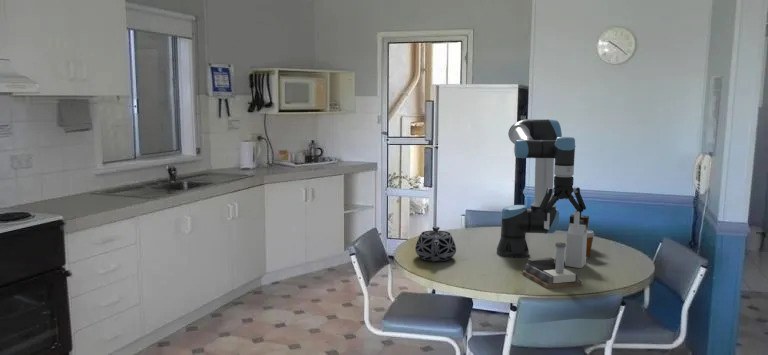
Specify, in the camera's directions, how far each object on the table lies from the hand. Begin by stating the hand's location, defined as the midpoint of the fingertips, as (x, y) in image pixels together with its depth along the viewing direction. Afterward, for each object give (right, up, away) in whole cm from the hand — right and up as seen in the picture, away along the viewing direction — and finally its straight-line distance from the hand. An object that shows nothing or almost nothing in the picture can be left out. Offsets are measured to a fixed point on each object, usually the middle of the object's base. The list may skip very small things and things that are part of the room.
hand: (561, 228), depth 253 cm
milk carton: (+15, -20, +30) cm, 39 cm away
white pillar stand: (0, -21, +3) cm, 22 cm away
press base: (-2, -22, +9) cm, 24 cm away
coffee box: (+26, -15, +63) cm, 70 cm away
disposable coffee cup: (+24, -17, +47) cm, 55 cm away
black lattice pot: (-47, -18, +42) cm, 66 cm away
